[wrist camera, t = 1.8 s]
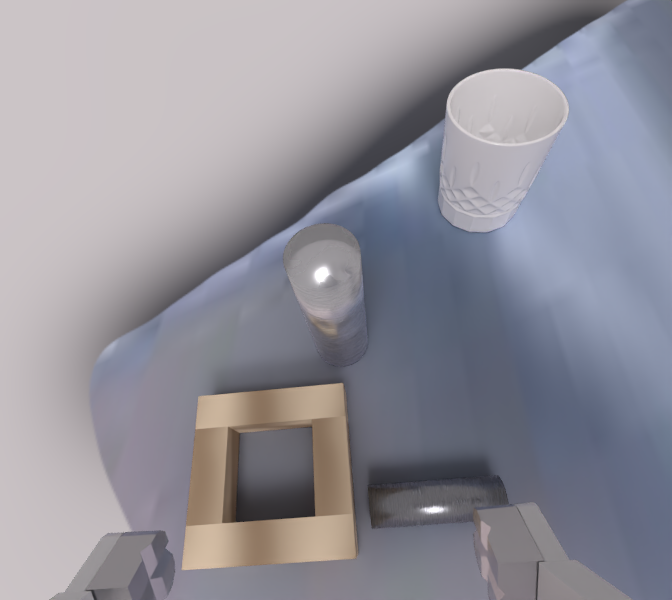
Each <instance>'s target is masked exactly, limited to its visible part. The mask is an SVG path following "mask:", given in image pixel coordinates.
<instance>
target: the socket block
mask: <svg viewBox="0 0 672 600" xmlns="http://www.w3.org/2000/svg"><path fill="white" fill-rule="evenodd" d="M303 427H312V437H313V465H314V492H315V517H303V518H289V519H276V520H262V521H249V522H236V502H237V480H238V459H239V437H240V433H246V432H257V431H269V430H280V429H292V428H303ZM357 556H358V542H357V529H356V517H355V504H354V491H353V478H352V465H351V452H350V439H349V426H348V413H347V400H346V391H345V388H344V385H343V383H337V384H326V385H316V386H305V387H294V388H283V389H273V390H262V391H251V392H240V393H230V394H219V395H208V396H199V398H198V408H197V418H196V429H195V439H194V449H193V459H192V470H191V480H190V490H189V501H188V511H187V521H186V532H185V542H184V552H183V563H182V570H192V569H207V568H222V567H237V566H252V565H267V564H282V563H297V562H311V561H326V560H341V559H356V558H357Z"/></svg>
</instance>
